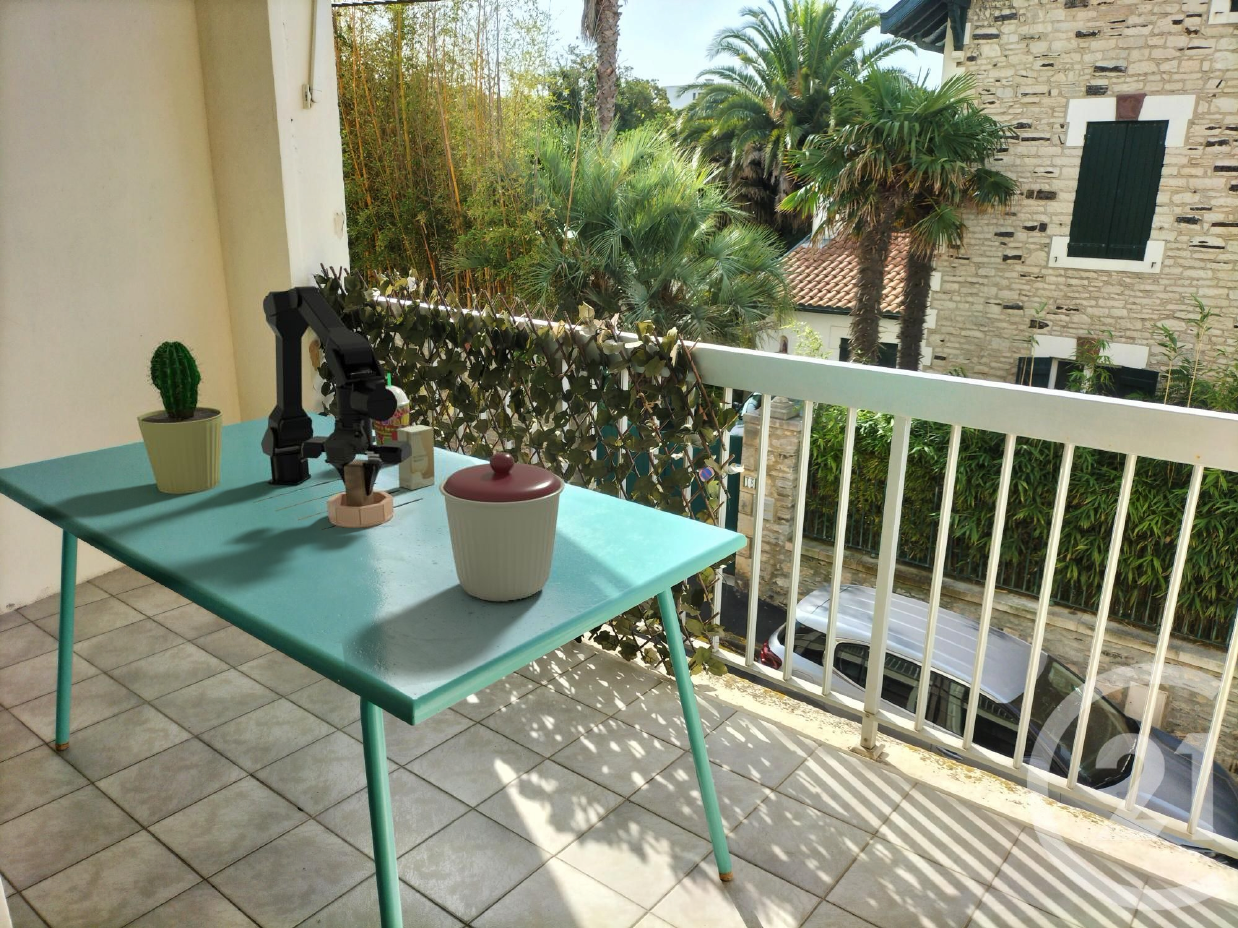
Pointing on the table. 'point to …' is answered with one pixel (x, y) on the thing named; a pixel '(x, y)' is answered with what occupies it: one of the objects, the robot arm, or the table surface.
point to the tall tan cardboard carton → (356, 485)
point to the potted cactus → (181, 425)
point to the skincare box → (417, 457)
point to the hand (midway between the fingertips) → (359, 494)
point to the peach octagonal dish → (360, 511)
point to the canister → (502, 526)
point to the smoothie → (393, 417)
